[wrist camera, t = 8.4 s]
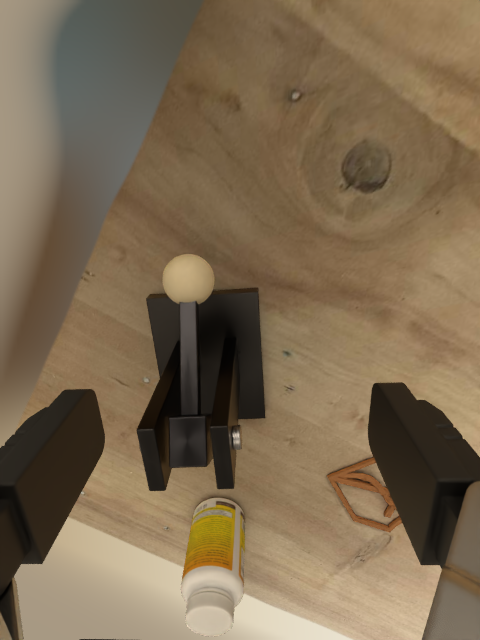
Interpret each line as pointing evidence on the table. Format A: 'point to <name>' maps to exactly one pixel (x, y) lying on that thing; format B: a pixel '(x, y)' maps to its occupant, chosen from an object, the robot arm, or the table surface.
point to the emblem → (344, 478)
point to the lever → (189, 361)
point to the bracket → (205, 379)
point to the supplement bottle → (214, 566)
